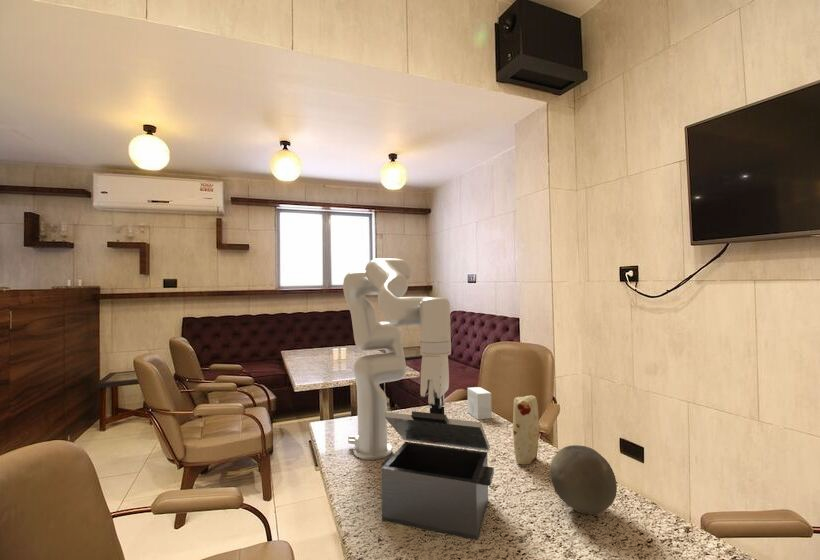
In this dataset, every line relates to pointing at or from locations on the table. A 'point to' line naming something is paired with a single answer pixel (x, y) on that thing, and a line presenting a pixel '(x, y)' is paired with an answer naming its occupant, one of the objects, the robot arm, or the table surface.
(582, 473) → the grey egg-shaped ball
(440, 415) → the lid
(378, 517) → the table surface
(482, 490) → the grey lidded box
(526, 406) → the food model
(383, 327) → the robot arm
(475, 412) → the skincare box
